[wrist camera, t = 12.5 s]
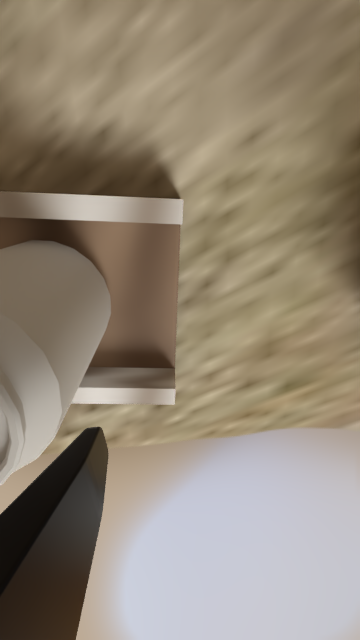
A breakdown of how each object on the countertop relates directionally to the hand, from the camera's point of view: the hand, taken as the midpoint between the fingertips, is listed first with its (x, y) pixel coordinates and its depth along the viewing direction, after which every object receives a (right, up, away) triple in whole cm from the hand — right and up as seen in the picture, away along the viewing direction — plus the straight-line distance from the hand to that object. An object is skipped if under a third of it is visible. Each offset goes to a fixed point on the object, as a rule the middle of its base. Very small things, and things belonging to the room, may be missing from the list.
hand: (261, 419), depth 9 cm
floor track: (-10, +5, +12) cm, 16 cm away
